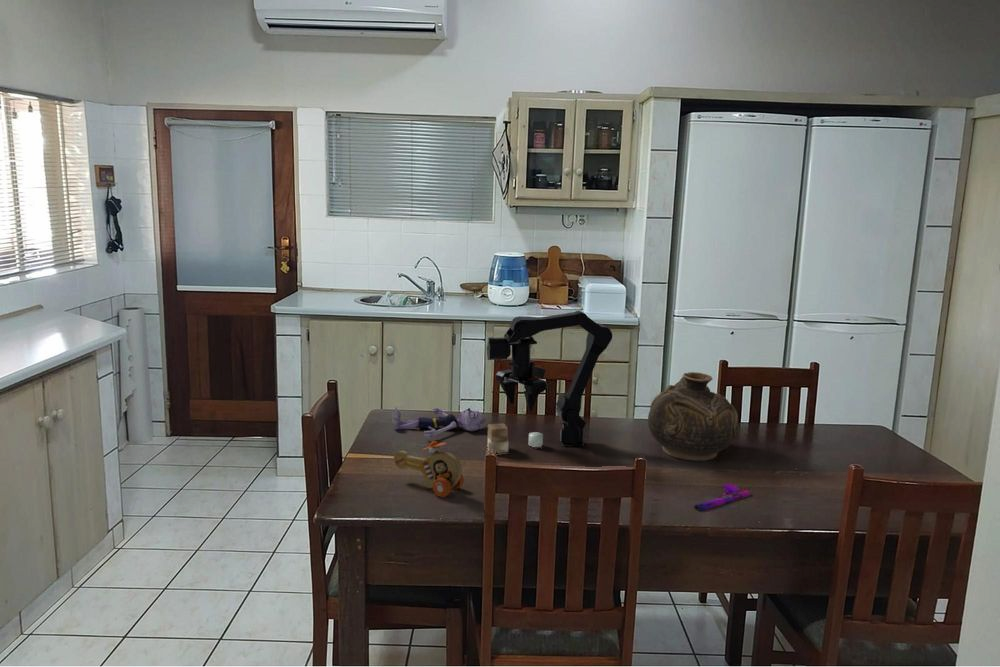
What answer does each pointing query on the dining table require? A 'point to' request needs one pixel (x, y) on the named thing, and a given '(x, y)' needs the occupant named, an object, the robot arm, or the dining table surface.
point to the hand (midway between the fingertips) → (521, 407)
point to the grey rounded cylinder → (535, 439)
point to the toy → (440, 421)
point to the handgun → (724, 497)
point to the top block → (497, 432)
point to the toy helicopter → (434, 468)
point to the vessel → (692, 419)
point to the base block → (498, 446)
